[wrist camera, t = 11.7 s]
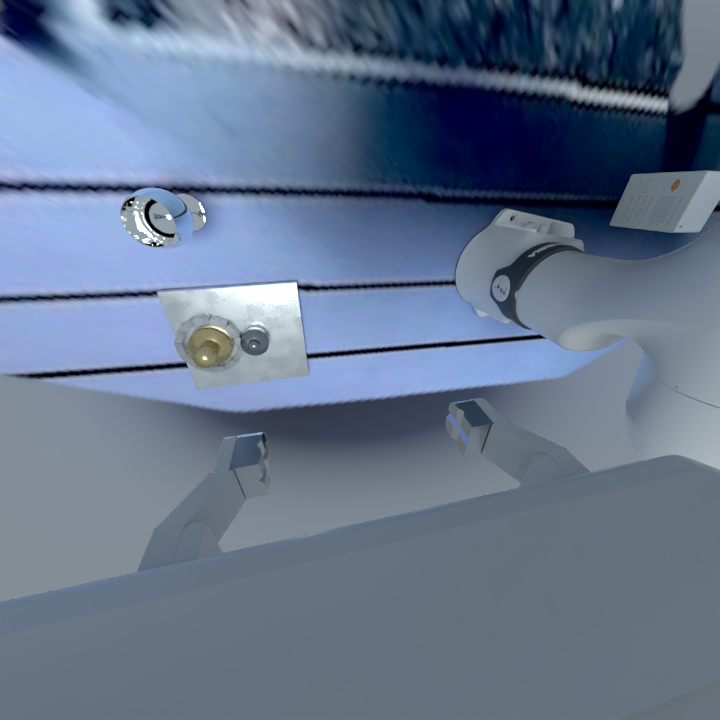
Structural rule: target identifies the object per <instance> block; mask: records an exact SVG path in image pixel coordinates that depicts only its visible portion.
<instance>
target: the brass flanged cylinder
mask: <svg viewBox="0 0 720 720" xmlns="http://www.w3.org/2000/svg"><path fill="white" fill-rule="evenodd" d="M233 347H234V343H233V339H232V337H231V336H230V335H229V334H228V333H227V332H226V331H225V330H224V329H221V328H218V327H216V326H211V325H208V326H202V327H200V328H198V329H196V330H195V331H194V332H193V334H192V335H191V337H190V338H189V341H188V348H189V351H190V353H191V354H192V355H193V356H194V358H193V361H194V363H195V364H196V365H197V366H198V367H200V368H210V367H212V366H213V364H220V363H223V362H225V361H226V360H227V359H228V358H229V357H230V356H231V353H232V350H233Z"/></svg>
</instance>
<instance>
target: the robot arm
mask: <svg viewBox="0 0 720 720" xmlns="http://www.w3.org/2000/svg"><path fill="white" fill-rule="evenodd" d="M511 217H512V219H511V220H510V218H511ZM455 280H456V287H457V290H458V292H459V294H460V296H461V297H462V298H463V299H464V300H465V301H467V302H468V303H469V304H471V305H472V307H473V309H474V311H475V313H476V315H478V316H480V317H486V316H491V317H493V318H495V319H497V320H499V321H501V322H503V323H509V322H512V323H514V324H516V325H518V326H520V327H523V328H525V329H530V330H533V331H535V332H537V333H538V334H540V335H542V336H543V337H545V338H547V339H548V340H550V341H552V342H553V343H555V344H557V345H558V346H560V347H562V348H564V349H567V350H571V351H594V350H599V349H602V348H605V347H608V346H610V345H612V344H614V343H616V342H618V341H620V340H621V339H623V338H624V337H626V338H629V339H631V340H633V341H635V342H636V343H637V344H638V345H639V346H641V348H642V349H643V358H642V361H641V363H640V366H639V369H638V371H637V374H636V376H635V379H634V382H633V384H632V387H631V389H630V392H629V395H628V397H627V400H626V411H625V424H626V437H627V440H628V443H629V445H630V446H631V448H632V449H633V451H635V453H636V454H637V455H638V456H639V457H640V458H641V459H642V460H643V461H639V462H634V463H630V464H625V465H620V466H616V467H611V468H607V469H602V470H598V471H594V472H590V471H589V470H588V469H587V468H586V467H585V466H583V464H582V463H581V462H579V461H578V460H577V459H576V458H575V457H574V456H573V455H572V454H571V453H570V452H569V451H568V450H567V449H566V448H564V447H562V446H560V445H557V444H555V443H553V442H551V441H549V440H547V439H545V438H543V437H540V436H538V435H536V434H534V433H532V432H530V431H528V430H525V429H523V428H521V427H519V426H517V425H515V424H513V423H511V422H505V421H504V420H503V419H502V418H501V416H499V414H498V413H497V412H496V411H495V410H494V409H493V408H492V407H491V406H490V404H489V403H488V402H487V401H486V400H485V399H483V398H478V399H472V400H466V401H460V402H454V403H451V404H450V405H449V411H450V414H449V415H448V416H447V419H446V427H447V430H448V433H449V435H450V436H451V437H452V438H453V439H455V440H457V442H456V445H457V447H458V449H459V450H460V452H461V453H462V455H463V456H464V457H465V456H471V455H477V454H482V456H484V457H485V458H486V459H488V460H489V461H491V462H492V463H494V464H495V465H497V466H498V467H499V468H501V469H502V470H504V471H505V472H506V473H508V474H509V475H510V476H512V477H513V478H515V479H516V480H518V481H519V482H520V483H521V484H520V486H519V488H516V489H511V490H507V491H502V492H498V493H493V494H489V495H484V496H480V497H475V498H471V499H466V500H462V501H457V502H453V503H448V504H444V505H439V506H435V507H430V508H425V509H421V510H416V511H412V512H408V513H403V514H399V515H394V516H389V517H385V518H380V519H376V520H372V521H367V522H363V523H358V524H353V525H348V526H344V527H339V528H335V529H330V530H326V531H321V532H317V533H313V534H308V535H303V536H299V537H294V538H289V539H285V540H281V541H276V542H271V543H267V544H262V545H258V546H253V547H249V548H244V549H240V550H235V551H231V552H226V553H223V552H222V550H221V548H220V547H219V545H218V542H219V540H220V539H221V537H222V536H223V534H224V533H225V531H226V530H227V528H228V527H229V525H230V524H231V522H232V521H233V519H234V518H235V516H236V515H237V513H238V512H239V510H240V509H241V507H242V505H243V504H244V502H245V499H249V498H253V497H258V496H262V495H267V494H268V491H269V475H268V471H269V470H270V466H271V457H270V450H269V446H268V445H266V436H265V433H264V432H261V433H253V434H246V435H238V436H233V437H225V438H224V439H223V441H222V443H221V447H220V451H219V454H218V458H217V461H216V465H215V469H214V472H213V473H210V474H208V475H207V476H206V477H205V478H204V480H202V481H201V483H199V484H198V485H197V487H196V488H195V489H194V490H193V491H192V492H191V493H190V494H189V495H188V496H187V497H186V498H185V499H184V500H183V501H182V502H181V503H180V504H179V505H178V506H177V507H176V508H175V509H174V510H173V511H172V512H171V513H170V514H169V515H168V516H167V517H166V518H165V519H164V520H163V521H162V522H161V523H160V524H159V525H158V526H157V527H156V528H155V529H154V531H153V534H152V536H151V538H150V541H149V543H148V546H147V548H146V551H145V554H144V556H143V558H142V561H141V563H140V565H139V568H138V570H137V572H135V573H130V574H126V575H122V576H117V577H112V578H108V579H103V580H99V581H94V582H90V583H85V584H81V585H76V586H72V587H67V588H62V589H58V590H53V591H49V592H45V593H40V594H35V595H31V596H26V597H21V598H17V599H11V600H7V601H2V602H0V720H720V223H719V224H717V225H715V226H714V227H712V228H711V229H709V230H708V231H707V232H705V233H704V234H702V235H701V236H700V237H698V238H697V239H695V240H693V241H692V242H690V243H689V244H687V245H685V246H683V247H681V248H679V249H677V250H675V251H672V252H670V253H667V254H664V255H661V256H658V257H655V258H650V259H643V260H622V259H615V258H608V257H601V256H596V255H591V254H586V253H584V244H583V241H582V240H580V239H575V238H574V226H573V224H570V223H567V222H563V221H559V220H555V219H551V218H546V217H542V216H538V215H534V214H529V213H525V212H521V211H517V210H512V209H508V208H505V209H503V210H501V211H500V212H499V213H498V215H497V216H496V217H495V218H494V220H493V221H492V223H491V224H490V225H489V226H488V227H487V228H485V229H484V230H483V231H481V232H480V233H479V234H477V235H476V236H475V237H474V238H473V239H472V240H471V241H470V242H469V244H468V245H467V246H466V248H465V249H464V251H463V253H462V254H461V257H460V259H459V261H458V264H457V268H456V276H455Z"/></svg>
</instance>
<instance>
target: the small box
mask: <svg viewBox="0 0 720 720" xmlns="http://www.w3.org/2000/svg"><path fill="white" fill-rule="evenodd" d="M719 200H720V171H689V172H668V173H648V174H632V175H631V177H630V179H629V182H628V184H627V186H626V188H625V190H624V193H623V195H622V197H621V199H620V201H619V204H618V206H617V208H616V210H615V212H614V215H613V217H612V219H611V221H610V224H609V226H616V227H626V228H635V229H644V230H652V231H661V232H671V233H674V232H700V231H701V229H702V228H703V226H704V224H705V223H706V221H707V220H708V218H709V216H710V215H711V213H712V211H713V210H714V208H715V207H716V205H717V203H718V202H719Z"/></svg>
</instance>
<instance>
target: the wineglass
mask: <svg viewBox="0 0 720 720" xmlns="http://www.w3.org/2000/svg"><path fill="white" fill-rule="evenodd" d="M120 216H121V220H122V223H123V226H124V227H125V229H126V230H127V232H128V233H129V234H130V235H131V236H132V237H133V238H134V239H135V240H137V241H138V242H140V243H142V244H143V245H146V246H149V247H154V248H160V249H170V248H176V247H179V246H181V245H183V244H185V243H186V242H187V241H188V240H189V239H190V238H191V236H192V234H193V231H197V230H200V229H201V228H202V227H203V226H204V225H205V223H206V212H205V210H204V207H203V206H202V204H201V203H200V202H199V201H198V200H197V199H196V198H194V197H193V196H191V195H188V194H183V193H182V194H177V195H174V194H173V193H171V192H169V191H166V190H163V189H159V188H145V189H141V190H138V191H136V192H134V193H133V194H131V195H130V196H129V197H128V198H126V200H125V201H124V202H123V204H122V206H121V210H120Z"/></svg>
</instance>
